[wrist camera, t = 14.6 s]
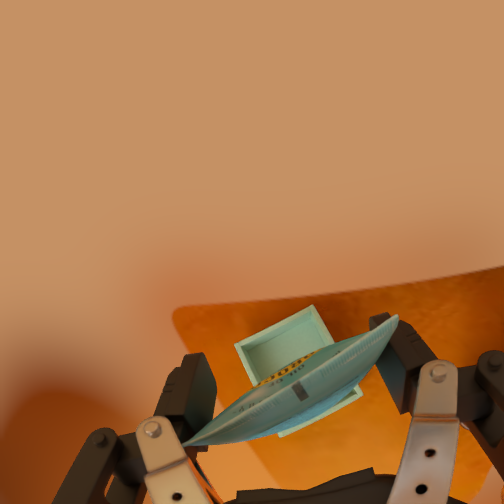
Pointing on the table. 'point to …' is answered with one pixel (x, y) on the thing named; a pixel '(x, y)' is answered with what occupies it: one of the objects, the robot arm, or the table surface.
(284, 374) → the tube
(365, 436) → the table surface
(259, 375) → the open pale green box
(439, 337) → the table surface
